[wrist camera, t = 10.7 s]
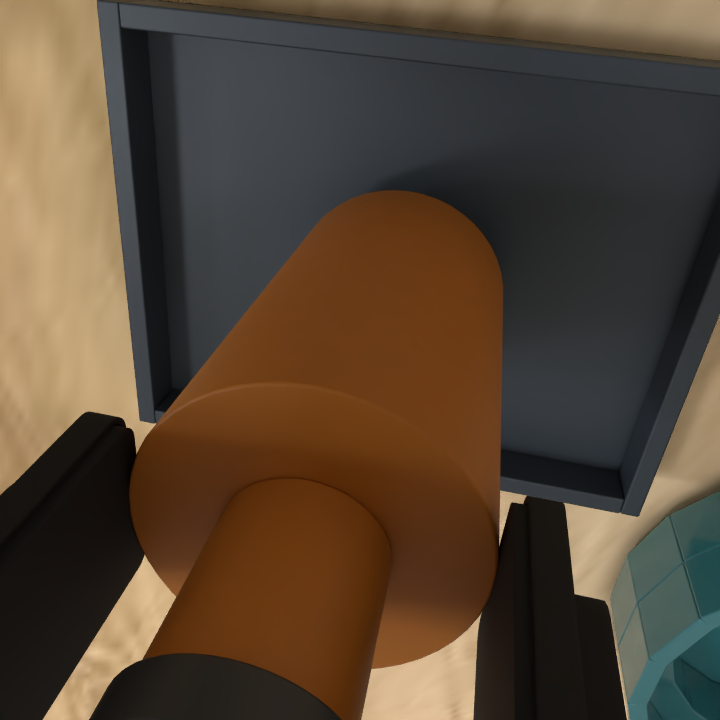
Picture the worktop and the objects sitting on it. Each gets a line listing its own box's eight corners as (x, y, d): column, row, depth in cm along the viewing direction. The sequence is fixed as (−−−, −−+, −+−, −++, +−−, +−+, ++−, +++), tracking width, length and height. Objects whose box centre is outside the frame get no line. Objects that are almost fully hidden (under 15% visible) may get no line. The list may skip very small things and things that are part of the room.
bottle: (523, 206, 17) (558, 717, 5) (482, 399, 20) (444, 1001, 8) (299, 175, 18) (-122, 559, 6) (292, 365, 21) (4, 873, 9)
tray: (779, 67, 17) (815, 78, 15) (628, 473, 23) (638, 517, 21) (138, -3, 19) (95, -1, 17) (167, 387, 26) (139, 421, 24)
